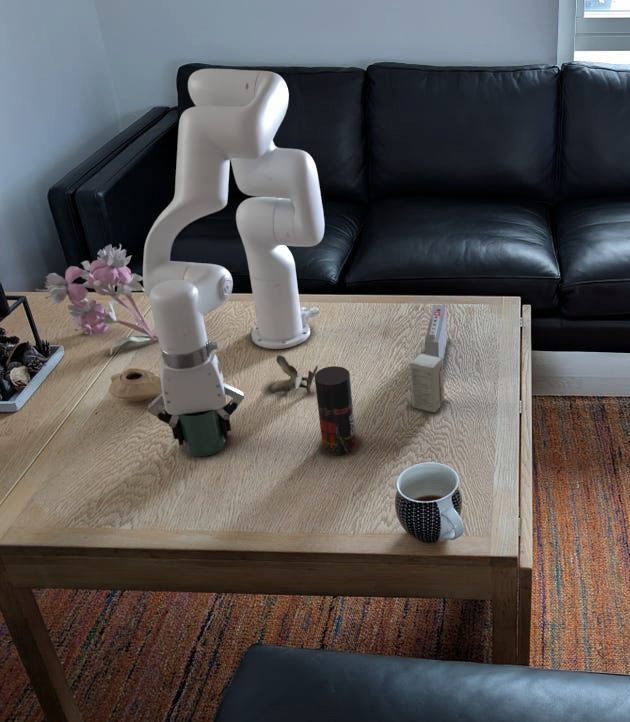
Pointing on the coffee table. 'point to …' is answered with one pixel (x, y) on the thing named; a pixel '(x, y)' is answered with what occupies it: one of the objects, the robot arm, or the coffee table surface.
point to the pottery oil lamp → (135, 385)
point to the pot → (202, 432)
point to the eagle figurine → (294, 380)
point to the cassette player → (436, 332)
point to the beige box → (427, 382)
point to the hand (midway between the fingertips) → (203, 436)
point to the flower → (104, 280)
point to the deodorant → (335, 410)
